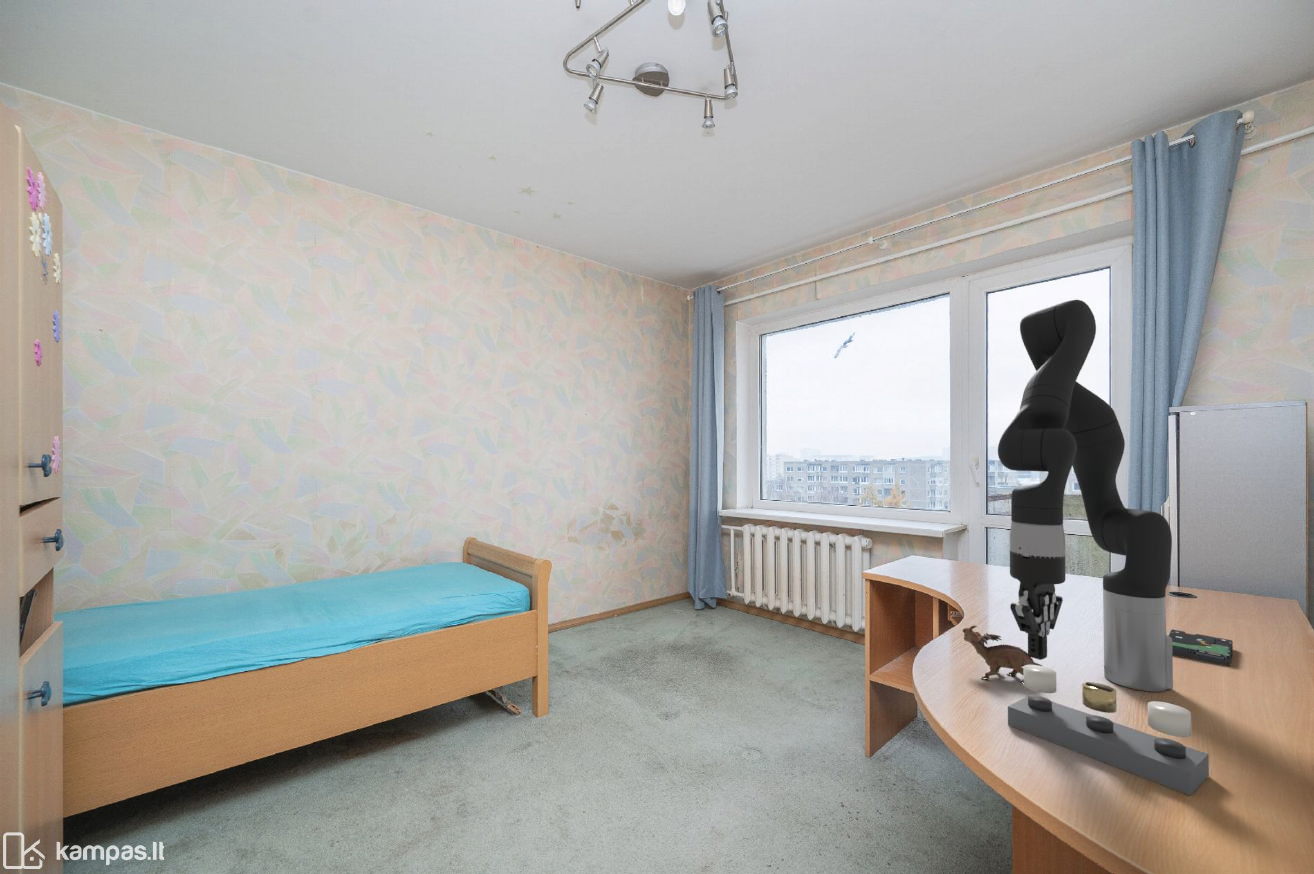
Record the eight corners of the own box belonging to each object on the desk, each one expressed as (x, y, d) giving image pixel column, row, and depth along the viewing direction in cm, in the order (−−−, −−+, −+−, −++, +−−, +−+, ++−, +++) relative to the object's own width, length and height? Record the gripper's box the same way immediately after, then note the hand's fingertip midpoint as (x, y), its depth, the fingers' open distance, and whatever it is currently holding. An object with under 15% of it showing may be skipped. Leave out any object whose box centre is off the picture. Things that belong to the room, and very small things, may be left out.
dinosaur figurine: (966, 677, 109) (965, 630, 110) (962, 667, 115) (962, 621, 115) (1049, 689, 104) (1048, 639, 104) (1041, 677, 109) (1041, 630, 110)
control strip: (1208, 776, 76) (1208, 745, 76) (1190, 795, 72) (1189, 762, 72) (1031, 712, 95) (1030, 687, 95) (1008, 724, 90) (1007, 698, 91)
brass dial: (1121, 708, 83) (1120, 687, 83) (1110, 715, 81) (1110, 694, 81) (1088, 698, 86) (1088, 678, 86) (1077, 704, 84) (1077, 684, 84)
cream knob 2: (1195, 731, 76) (1195, 710, 76) (1185, 740, 74) (1185, 719, 74) (1154, 718, 80) (1153, 698, 80) (1143, 726, 78) (1142, 706, 78)
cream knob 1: (1061, 689, 90) (1061, 671, 90) (1049, 695, 87) (1048, 677, 87) (1031, 679, 93) (1031, 662, 93) (1018, 685, 91) (1018, 668, 91)
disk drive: (1170, 640, 133) (1164, 655, 123) (1170, 628, 133) (1164, 642, 123) (1232, 652, 125) (1231, 669, 115) (1232, 639, 125) (1231, 655, 115)
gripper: (1030, 543, 98) (1031, 643, 97) (991, 550, 91) (992, 658, 90) (1081, 550, 91) (1082, 657, 91) (1043, 558, 84) (1044, 674, 84)
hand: (1037, 657), depth 91 cm, fingers closed
